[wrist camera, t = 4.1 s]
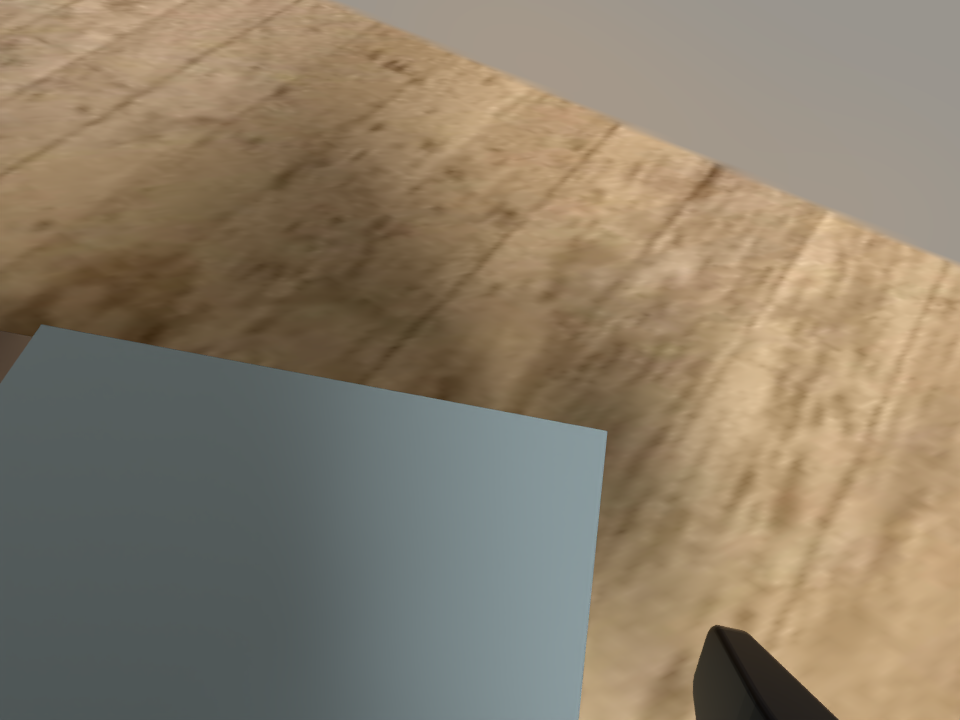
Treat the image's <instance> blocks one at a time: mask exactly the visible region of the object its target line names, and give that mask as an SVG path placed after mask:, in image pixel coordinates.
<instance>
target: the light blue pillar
mask: <svg viewBox="0 0 960 720" xmlns="http://www.w3.org/2000/svg"><path fill="white" fill-rule="evenodd" d="M606 440H607V431H604V430H599V429H594V428H588V427H583V426H578V425H572V424H567V423H562V422H557V421H551V420H546V419H541V418H535V417H530V416H525V415H519V414H514V413H509V412H503V411H498V410H493V409H488V408H482V407H477V406H472V405H466V404H461V403H456V402H450V401H445V400H440V399H434V398H429V397H424V396H419V395H413V394H408V393H403V392H397V391H392V390H387V389H381V388H376V387H371V386H366V385H360V384H355V383H350V382H344V381H339V380H334V379H328V378H323V377H318V376H312V375H307V374H302V373H297V372H291V371H286V370H281V369H275V368H270V367H265V366H259V365H254V364H249V363H243V362H238V361H233V360H228V359H222V358H217V357H212V356H206V355H201V354H196V353H190V352H185V351H180V350H174V349H169V348H164V347H159V346H153V345H148V344H143V343H137V342H132V341H127V340H121V339H116V338H111V337H105V336H100V335H95V334H90V333H84V332H79V331H74V330H68V329H63V328H58V327H52V326H47V325H42V324H41V326H40V327H39V329H38V330H37V331H36V333H35V334H34V336H33V337H32V339H31V340H30V341H29V343H28V344H27V346H26V347H25V349H24V350H23V352H22V353H21V354H20V356H19V357H18V359H17V360H16V362H15V363H14V364H13V366H12V367H11V369H10V370H9V372H8V373H7V375H6V376H5V377H4V379H3V380H2V382H1V383H0V720H579V710H580V700H581V690H582V680H583V670H584V660H585V650H586V640H587V630H588V620H589V610H590V600H591V590H592V580H593V570H594V560H595V550H596V540H597V530H598V520H599V510H600V500H601V490H602V480H603V470H604V460H605V450H606Z"/></svg>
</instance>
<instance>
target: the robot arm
mask: <svg viewBox="0 0 960 720" xmlns="http://www.w3.org/2000/svg"><path fill="white" fill-rule="evenodd" d="M693 698H694V706H695V715H696V720H839V719H837V718H836V717H835V716H834V715H833V714H832V713H831V712H830V711H829V710H828V709H827V708H826V707H825V706H824V705H823V704H822V703H821V702H820V701H819V700H818V699H817V698H815V697H814V696H813V695H812V694H811V693H810V692H809V691H808V690H807V689H806V688H805V687H804V686H803V685H802V684H801V683H800V682H799V681H798V680H797V679H796V678H795V677H794V676H792V675H791V674H790V673H789V672H788V671H787V670H786V669H785V668H784V667H783V666H782V665H781V664H780V663H779V662H778V661H777V660H776V659H775V658H774V657H773V656H772V655H770V654H769V653H768V652H767V651H766V650H765V649H764V648H763V647H762V646H761V645H760V644H759V643H758V642H757V641H756V640H755V639H754V638H753V637H752V636H751V635H749V634H748V633H747V632H745V631H743V630H738V629H734V628H729V627H724V626H720V625H715V626H713V627H711V628H710V630H709V631H708V634H707V636H706V639H705V643H704V646H703V649H702V652H701V655H700V658H699V661H698V665H697V668H696V671H695V674H694V680H693Z"/></svg>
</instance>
